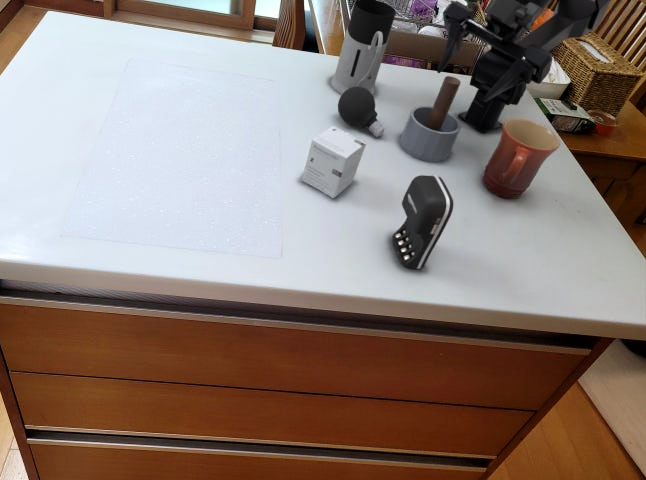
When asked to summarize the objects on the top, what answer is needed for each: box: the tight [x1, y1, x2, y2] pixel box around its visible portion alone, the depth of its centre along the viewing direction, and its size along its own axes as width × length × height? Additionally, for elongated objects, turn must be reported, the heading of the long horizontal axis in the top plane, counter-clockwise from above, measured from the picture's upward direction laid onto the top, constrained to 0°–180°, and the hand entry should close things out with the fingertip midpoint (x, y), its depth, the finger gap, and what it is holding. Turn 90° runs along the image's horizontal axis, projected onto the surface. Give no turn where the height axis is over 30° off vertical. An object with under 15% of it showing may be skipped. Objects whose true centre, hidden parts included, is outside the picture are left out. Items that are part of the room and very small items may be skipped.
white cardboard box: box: [301, 125, 367, 199], centre depth 81 cm, size 6×6×7 cm
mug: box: [481, 117, 561, 199], centre depth 86 cm, size 12×9×10 cm
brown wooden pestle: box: [422, 75, 462, 132], centre depth 91 cm, size 4×4×12 cm
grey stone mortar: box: [399, 105, 462, 163], centre depth 94 cm, size 9×9×6 cm
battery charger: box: [391, 174, 454, 269], centre depth 71 cm, size 7×4×11 cm, turn 7°
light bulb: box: [337, 87, 386, 138], centre depth 95 cm, size 6×6×10 cm
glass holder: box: [330, 0, 397, 96], centre depth 100 cm, size 9×14×15 cm, turn 2°
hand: (460, 86), depth 89 cm, fingers open, 9 cm apart
